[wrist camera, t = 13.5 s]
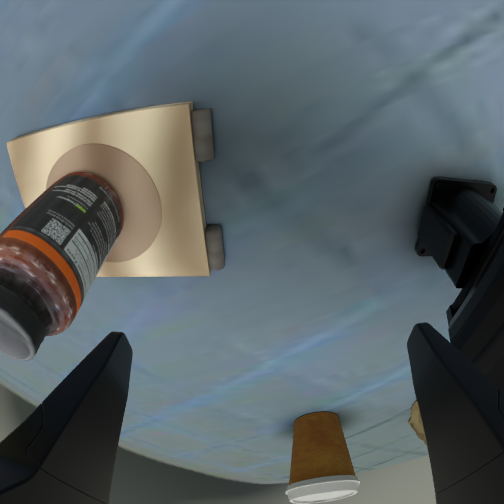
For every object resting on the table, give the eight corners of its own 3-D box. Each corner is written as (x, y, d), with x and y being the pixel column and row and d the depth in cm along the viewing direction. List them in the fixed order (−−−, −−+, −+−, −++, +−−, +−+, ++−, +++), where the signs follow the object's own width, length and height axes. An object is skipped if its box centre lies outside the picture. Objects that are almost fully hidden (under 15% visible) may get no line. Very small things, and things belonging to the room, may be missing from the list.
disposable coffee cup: (270, 428, 41) (271, 503, 31) (308, 401, 36) (316, 490, 26) (322, 435, 43) (329, 503, 33) (363, 410, 38) (376, 487, 28)
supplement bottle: (58, 238, 21) (-20, 353, 12) (49, 164, 17) (-64, 268, 8) (128, 251, 21) (65, 387, 12) (127, 172, 18) (27, 300, 9)
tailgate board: (211, 99, 17) (207, 102, 16) (226, 265, 24) (224, 277, 23) (15, 137, 17) (4, 143, 16) (58, 267, 24) (51, 277, 23)
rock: (427, 432, 42) (469, 410, 36) (412, 468, 36) (459, 450, 30) (390, 399, 45) (431, 374, 39) (372, 435, 39) (417, 413, 33)
